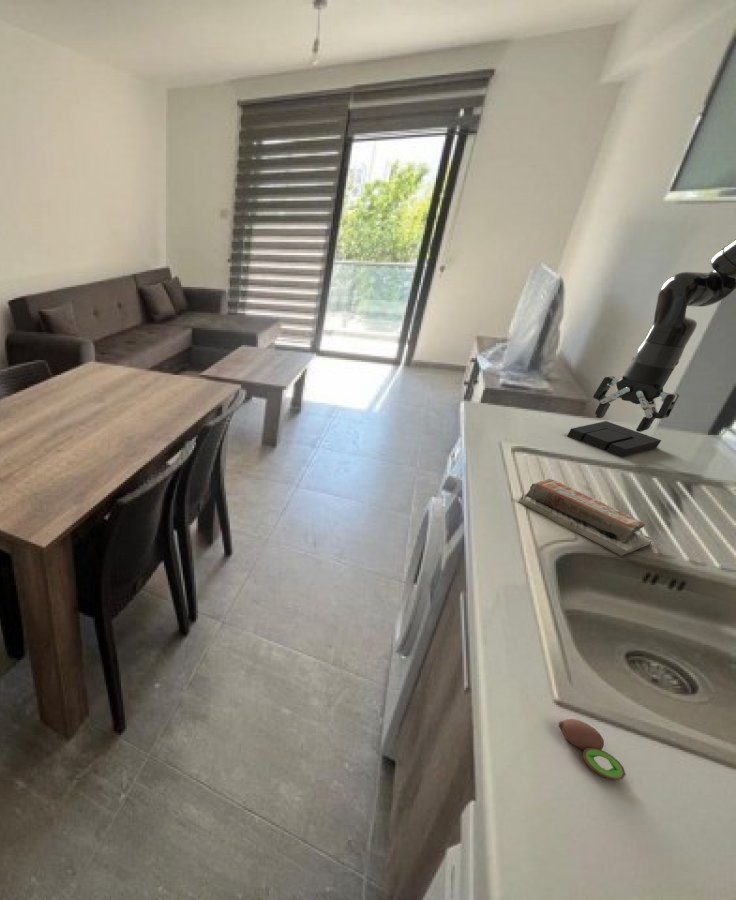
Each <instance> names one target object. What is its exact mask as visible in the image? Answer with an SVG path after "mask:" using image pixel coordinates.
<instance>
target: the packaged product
mask: <svg viewBox="0 0 736 900" xmlns="http://www.w3.org/2000/svg"><path fill="white" fill-rule="evenodd" d="M517 502H518V503H520V504H521V505H524V506H526V507H528V508H530V509H531V510H533V511H535V512H537V513H539V514H540V515H543V516H544V517H546V518H548V519H550V520H551V521H554V522H555V523H557V524H559V525H561V526H563V527H565V528H567V530H570V531H572V532H573V533H576V534H579V535H581V536H583V537H584V538H587V539H588V540H590V541H592V542H594V543H596V544H598V545H600V546H602V547H603V548H606V549H608V550H609V551H611V552H613V553H615V554H617V555H619V556H625V555H626V554H629V553H632V552H634V551H637V550H639V549H642V548H644V547H647V546H648V545H650V544H652V543H653V542H654V540H655V538H653V537H651V536H648V535H645V534H643V533H642V532H640V529H642V528H644V527H645V525H646V523H644V522H642V521H641V520H639V519H637V518H635V517H633V516H631V515H629V514H627V513H624V512H622V511H620V510H618V509H617V508H614V507H612V506H609V505H608V504H605V503H604V502H601V501H600V500H597V499H595V498H593V497H592V496H589V495H587V494H585V493H583V492H581V491H579V490H577V489H575V488H572V487H570V486H568V485H566V484H564V483H562V482H560V481H557V480H555V479H551V478H548V479H545V480H540V481H536V482H534V483H532V484H531V486H530V487H529V489H528V492H527V493H525V494H522V495H520V496H519V497H518V499H517Z"/></svg>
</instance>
